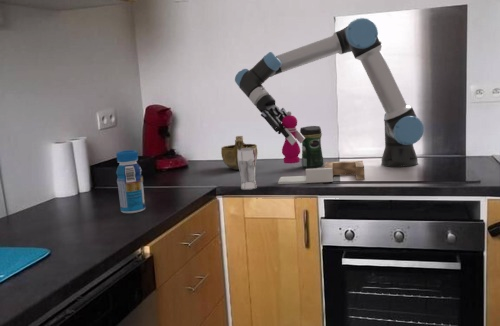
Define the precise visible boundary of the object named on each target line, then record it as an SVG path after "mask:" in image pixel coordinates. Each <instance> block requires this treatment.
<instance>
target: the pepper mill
mask: <svg viewBox="0 0 500 326" xmlns="http://www.w3.org/2000/svg"><path fill="white" fill-rule="evenodd" d="M286 112H287V115H288V116H285V117H284V118H283V119H282V122H281V123H282V125H283V126H284V129H285V128H287V129H288V130H289V132H290V133H291V134H292V135H293V136H294V137H295V131H297V130H296V128H297V126H298V118H296V116H294V115H292V111H286ZM296 125H297V126H296ZM295 127H296V128H295ZM284 138H285V137H284ZM295 138H296V137H295ZM281 148H282V149H281V154H282V155H283V156H284V158H283V163H284V164H297V163H300V161H301V160H300V157H299V156H300V154H301V148H300V145H299V143H298V140H297V141H296V142H295V143H294V144H293V145H291V144H290V142H289V141H288V140H287V139H286V138H285V139H284V142H283V145H282V147H281Z"/></svg>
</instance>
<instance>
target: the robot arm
mask: <svg viewBox="0 0 500 326" xmlns="http://www.w3.org/2000/svg"><path fill="white" fill-rule="evenodd" d="M382 46H383V43H382V41H381V38H380V37H379V31H378V27H377V25H376V23H375V22H374V21H372V20H371V19H369V18H366V17H360V18H356V19H353V20H352V21H351V22H350V23H348V25H347V26H345V27H344V28H342V29H340V30H338V31H335V32H333V34H332V35H331V36H329V37H325V38H323V39H320V40H319V39H318V40H317V41H314V42H312V43H309V44H306V45H302V46H301V47H300V46H299V47H298V48H293V49H291V50H289V51H286V52H284V53H281V54H278V55H276V54H274V53H273V52H272V51H269V52H268V53H266V54H265V55H264V56H263V57H262V58H261V59H260V60H259V61H258V62H257V63H256V64H255V65H253V67H252V68H249V69H248V68H243V69H241V70H239V71H238V72H237V73H236V75H235V77H234V82H235V84H236V85H237V86H238V88H239V89H240V90H241V91H242V92H243V94H245V95H246V97H247V98H248V99H249V100H250V102H251V103H252V105H254V106H255V108H256V109H257V110H258V111H259V112H260V113H261V114H260V116H261V117H262V118H263V119H264V120H265V121H266V122H267V123H268V125H269V126H270V127H271V129H273V130H274V131H275V133H277V134H278V135H281V134H282V136H283V137H284V138H286V139H287V140H288V141H289V142H290V144H291V145H293V144H294V143H295V142H296V141H297V142H299V144H302V142H303V140H304V139H305V137H304V136H303V135H302V134H301V133H300V130H299V129H298V128H297V126H298V124H297V125H296V127H295V128H296V130H297V131H295V137H296V138H295V137H294V136H293V135H292V134H291V133H290V132H289V130H288V129H287V128H285V129H284V126H283V125H282V119H283V118H284V117H285V116H288V115H287V112H288V111H287V110H286V109H285V108H284V107H281V108H280V107H278V106H277V105H276V99H275V98H274V97H273V96H272V95H271V94H270V93H269V91H267V89H266V87H264V86H263V84H264V83H265V82H266V81H267V80H268V79H269V78H272V77H273V76H276V75H279V74H281V73H284V72H287V71H289V70H293V69H296V68H298V67H302V66H305V65H307V64H310V63H313V62H316V61H319V60H323V59H325V58H327V57H330V56H333V55H336V54H339V55H344V54H346V53H350V52H351V53H352V56H353V57H354V59H355V60H358V61H360V63H361V64H362V67H363V69H364V71H365V73H366V75H367V77H368V79H369V82H370V83H371V85H372V88H373V89H374V92H375V93H376V95H377V98H378V100H379V103H380V104H381V105H382V108H383V109H384V112H385V114H384V118H383V122H384V141H385V142H384V143H385V144H384V149H383V150H384V151H383V154H382V157H381V165H382V166H384V167H393V168H394V167H396V168H397V167H400V168H401V167H403V168H404V167H412V166H416V165H418V164H419V163H418V162H419V161H418V156H417V154H416V153H417V152H416V151H415V148H414V144H416V143H418V142H419V141H420V140H421V139H422V137H423V135H424V131H425V130H424V129H425V128H424V124H423V122H422V120H421V119H420V118H419V117H418V116H417V115H416V112H415V110H414V108H413V106H412V105H409V104H407V102H406V101H405V98H404V97H403V94H402V93H401V90H400V88H399V86H398V84H397V82H396V80H395V77H394V76H393V73H392V72H391V69H390V68H389V64H388V62H387V61H386V59H385V57H384V55H383V53H382Z"/></svg>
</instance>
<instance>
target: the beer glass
mask: <svg viewBox="0 0 500 326" xmlns="http://www.w3.org/2000/svg"><path fill="white" fill-rule="evenodd" d="M238 166H239V170H238V171H239V174H240V179H241V185H240V189H241V190H243V191H250V190H255V189H257V188H258V185H257V182H256V169H257V159H256V154H255V148H243V149H238Z"/></svg>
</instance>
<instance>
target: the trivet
mask: <svg viewBox="0 0 500 326" xmlns="http://www.w3.org/2000/svg"><path fill="white" fill-rule="evenodd" d="M292 184H297V185H298V184H307V183H306V175H294V176H293V175H292V176H280V177H279V179H278V182H277V185H292Z"/></svg>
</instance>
